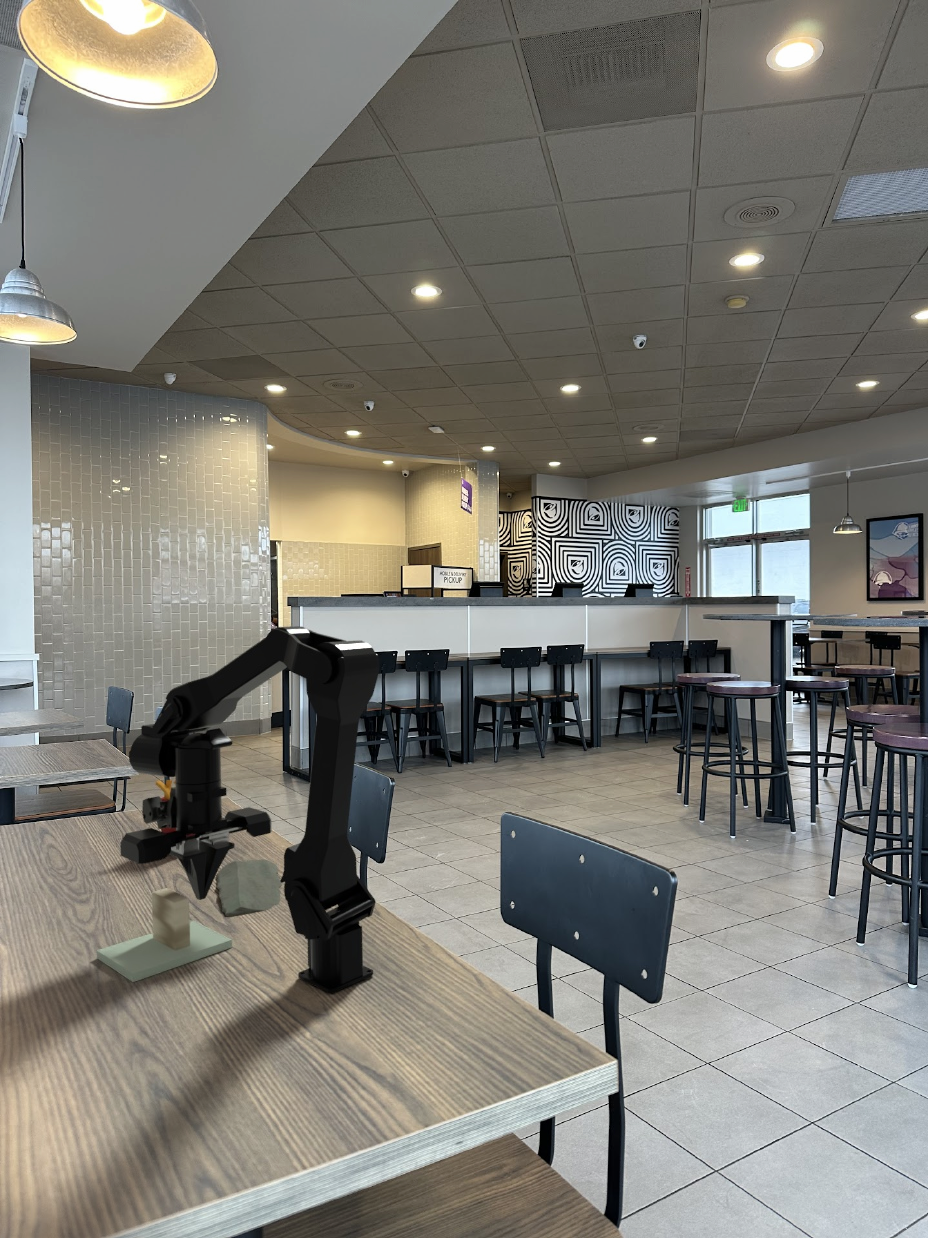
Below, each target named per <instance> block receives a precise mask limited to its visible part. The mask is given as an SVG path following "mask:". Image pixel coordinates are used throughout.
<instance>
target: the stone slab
mask: <svg viewBox="0 0 928 1238" xmlns="http://www.w3.org/2000/svg"><path fill="white" fill-rule="evenodd" d="M278 874H279V870H278V866H277V864H276V863H274V862H272V861H270V860H268V859H265V858H263V859H250V860H249V859H248V860H245V861H244V860H233V861H231V862H229V863H227V864H225V865H224V866H223V867H222V868H221V869H220V870H218V871H217V873H216V876H215V879H216V880H217V881H216V883H217V886H216V889H218V890H219V893H218V897H219V900H220V901H221V912H222V913H224V915H225V916H226V917H229V918H230V917H236V916H237V917H238V916H241V915H249V914H252V913H253V914H254V913H259V912H267V911H268V910H270V909H272V908H273V907H274V906H277V905H279V904H280V902H281V893H282V891H281V888H282V887H283V884H282V883H281V882H280V880H281V878H280V877H281V876H280V875H278ZM281 886H282V887H281Z"/></svg>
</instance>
